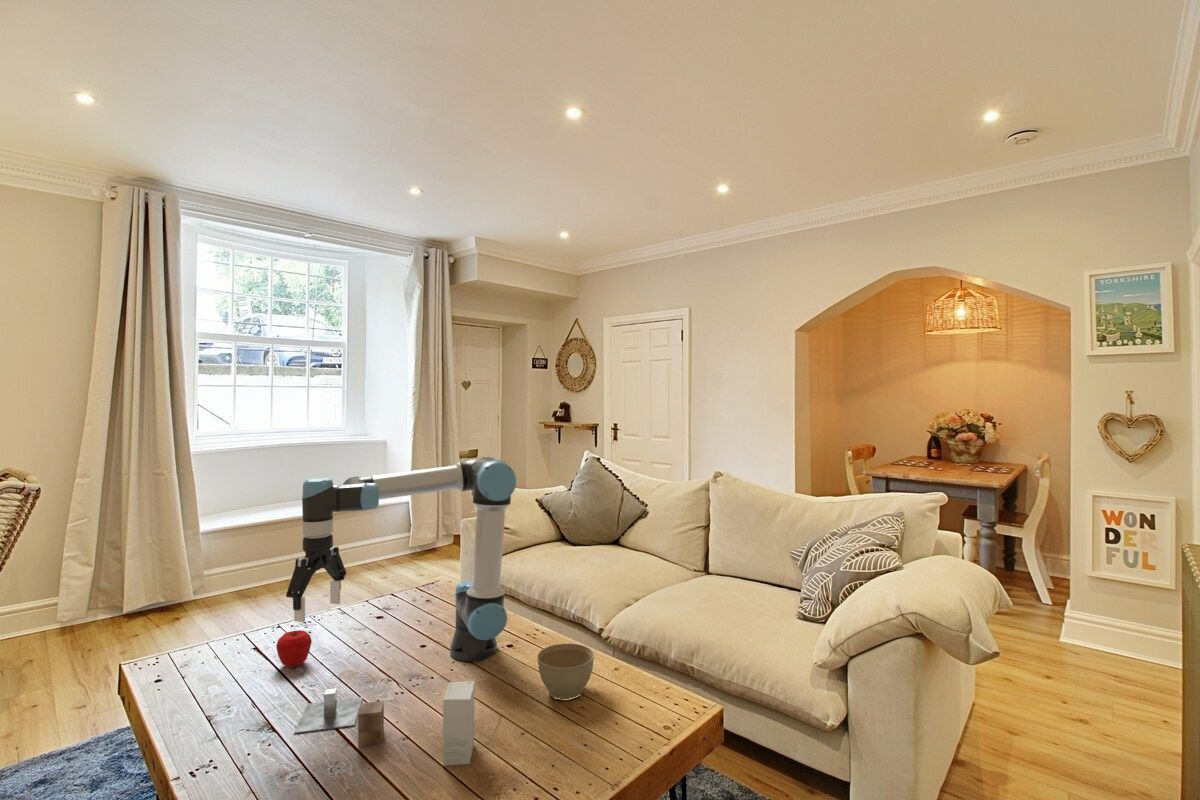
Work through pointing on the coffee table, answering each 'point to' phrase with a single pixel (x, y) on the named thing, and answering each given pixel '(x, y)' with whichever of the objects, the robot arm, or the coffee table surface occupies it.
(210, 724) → the coffee table surface
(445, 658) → the coffee table surface
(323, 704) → the grey square base plate
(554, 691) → the planter bowl
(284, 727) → the coffee table surface
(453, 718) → the skincare box
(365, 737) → the tan wooden block
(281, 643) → the apple
